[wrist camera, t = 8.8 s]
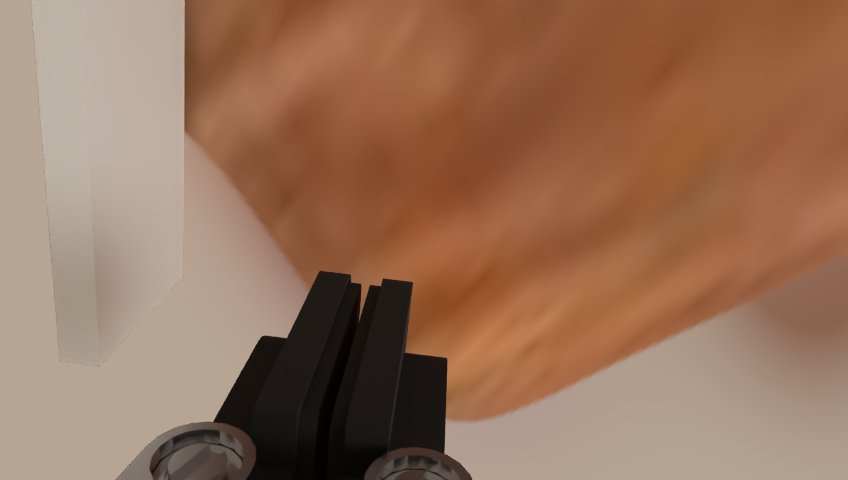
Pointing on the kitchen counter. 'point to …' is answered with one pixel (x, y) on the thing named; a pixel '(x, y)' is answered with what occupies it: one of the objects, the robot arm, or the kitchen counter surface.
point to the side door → (111, 163)
